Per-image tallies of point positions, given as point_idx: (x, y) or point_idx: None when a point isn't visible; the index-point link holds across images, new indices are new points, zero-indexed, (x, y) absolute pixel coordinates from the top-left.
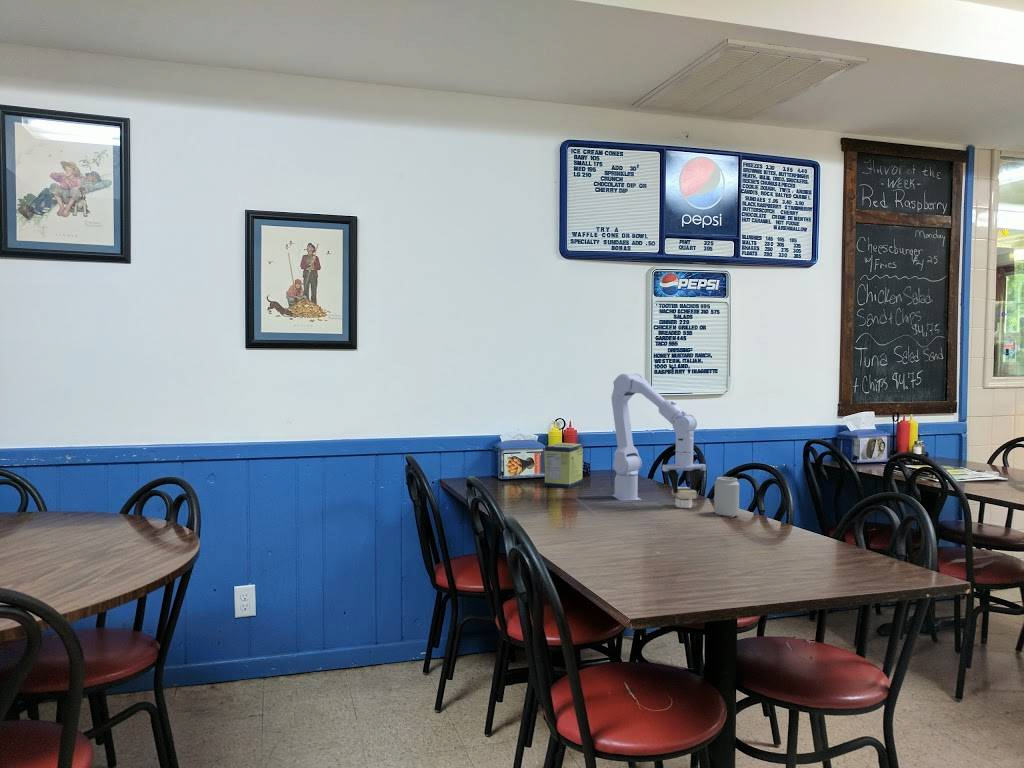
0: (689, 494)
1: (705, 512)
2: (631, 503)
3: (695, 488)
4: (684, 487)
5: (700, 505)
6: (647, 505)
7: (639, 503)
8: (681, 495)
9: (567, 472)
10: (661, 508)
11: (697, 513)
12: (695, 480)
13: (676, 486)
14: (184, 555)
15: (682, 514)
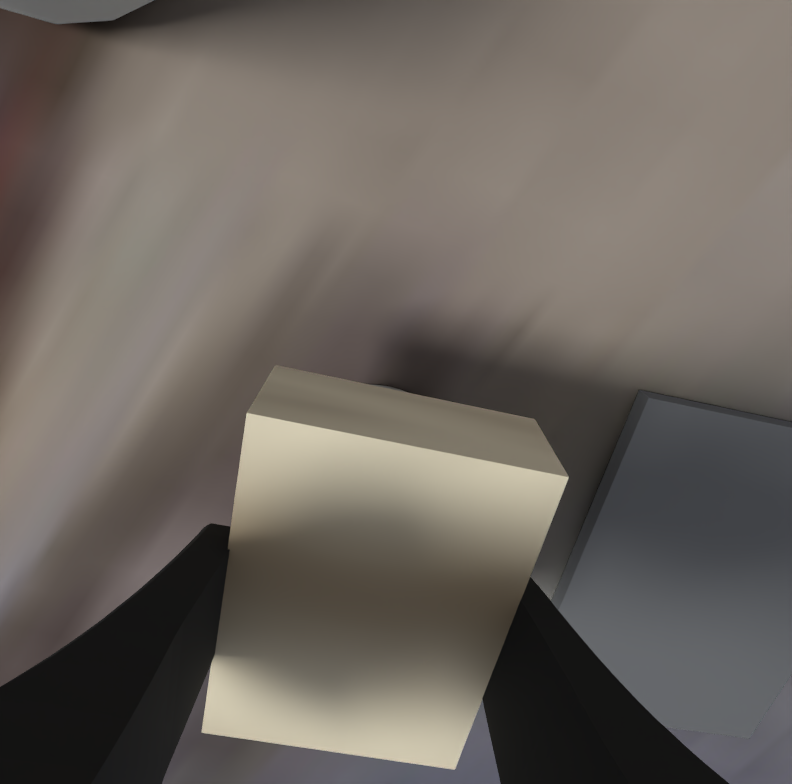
0: (393, 416)
1: (260, 154)
2: (762, 711)
3: (178, 555)
4: (266, 727)
5: (111, 513)
6: (703, 608)
7: (700, 693)
8: (534, 436)
9: None
10: (689, 448)
11: (401, 137)
12: (126, 673)
13: (567, 644)
14: None
15: (623, 157)
